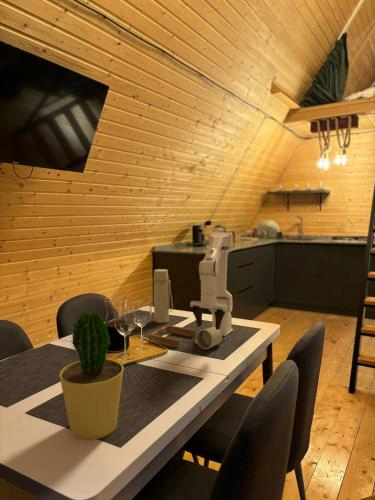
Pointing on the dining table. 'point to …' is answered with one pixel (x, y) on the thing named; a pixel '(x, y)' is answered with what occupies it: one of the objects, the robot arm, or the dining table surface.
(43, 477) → the dining table surface
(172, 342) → the walnut bracket
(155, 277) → the water bottle
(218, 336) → the ceramic mug
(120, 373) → the potted cactus
